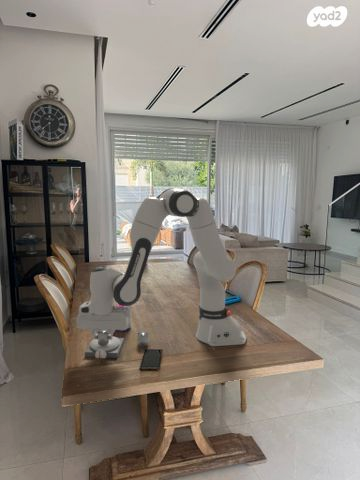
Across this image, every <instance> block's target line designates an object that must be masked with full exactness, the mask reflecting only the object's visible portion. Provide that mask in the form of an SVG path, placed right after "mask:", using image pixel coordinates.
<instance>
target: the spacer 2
mask: <svg viewBox="0 0 360 480" xmlns="http://www.w3.org/2000/svg"><path fill="white" fill-rule="evenodd" d="M137 346H138V347H140V348H146V347H148V346H149V333H148V331H145V330H144V331H143V330H142V331H139V332H138V333H137Z"/></svg>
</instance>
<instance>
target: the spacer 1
mask: <svg viewBox="0 0 360 480" xmlns="http://www.w3.org/2000/svg"><path fill="white" fill-rule="evenodd" d="M97 334H98V345H101V346H104V345H107V344H109V340H108V335H109V334H110V330H100V329H98V330H97Z"/></svg>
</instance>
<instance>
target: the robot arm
mask: <svg viewBox="0 0 360 480" xmlns="http://www.w3.org/2000/svg"><path fill="white" fill-rule="evenodd" d="M169 215H171V216H173V217H179V218H186V220H187V222H188V226H189V229H190V233H191V237H192V240H193V244H194V246H195V247H196V249H198V251H197V252H196V253H195V254H194V256H193V259H192V262H193V266H194V267H195V271H196V274H197V278H198V284H199V292H200V293H199V294H200V295H199V296H200V297H199V298H200V299H199V306H198V327H197V330H196V334H195V338H196V339H197V340H198V341H200V342H201V343H205V344H207V345H208V346H210V347H223V346H237V345H245V343H246V342H247V336H246V333H245V332H244V331H243V330H242V329H241V325H240V323H239V322H238V320H237V319H235V318H234V317H232V312H231V310H230V309H229V308H228V306H226V289H225V287H224V285H223V282H229V281H231V280H233V279H234V277H235V275H236V273H237V265H236V263H235V261H234V260H233V259H232V257H230V255H229V254H228V252H227V251H228V250H227V249H226V248H225V245H224V244H223V242H222V239H221V238H220V235H219V234H220V233H219V230H218V227H217V223H216V219H215V216H214V215H215V214H214V213H213V210H212V208H211V205H210V203H209V202H208V200H207V199H205V198H204V197H196V196H195V195H194V194H193V193H191V191H189V190H188V189H183V188H179V187H174V188H167V189H165V190H164V191H162V192H161V193H160V194H159V195H158V196H156V197H155V196H148V197H145V198H144V199H143V201H142V202H141V204H140V206H139V208H138V209H137V211H136V212H135V216H134V218H133V221H132V224H131V227H130V228H131V229H130V234H129V239H130V245H131V252H130V253H131V255H130V258H129V260H128V264H127V266H126V271H121V270H119V269H116V268H113V267H112V266H110V265H108V264H107V265H106V264H104V265H103V264H102V265H100V266H99V265H98V266H97V267H95V268H93V270H91V272H90V277H89V279H90V280H89V290H90V293H91V296H90V300H89V301H85V302H83V303H82V304H80V306H79V308H78V314H77V315H76V327H77V329H79V330H90V333H91V334H92V336H93V338H94V339H98V332H96V330H109V331H110V333H109V335H108V340H112V338H113V335H114V333H115V332H116V331H118V330H126V329H127V327H128V309H127V308H125V307H118V306H116V305H115V304H114V301H115V302H116V304H117V305H122V306H130V307H131V306H132V305H135V304H136V303H137V302H138V301H139V300H140V298H141V296H142V295H141V294H142V290H141V289H142V288H141V283H142V282H141V281H142V278H143V274H144V272H145V269H146V265H147V263H148V260H149V257H150V253H151V251H152V249H153V246H154V244H155V243H156V240H157V237H158V235H159V233H160V231H161V227H162V225H163V222H164V220H165V219H166V217H168V216H169ZM126 331H127V330H126Z"/></svg>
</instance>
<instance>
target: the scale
mask: <svg viewBox="0 0 360 480" xmlns="http://www.w3.org/2000/svg"><path fill="white" fill-rule="evenodd" d="M124 343H125V338H124V337H117V336H113V338H112V340H109V344H107V345H104V346H101V345H98V339H94V337H93V338H92V339H91V341H90V343H89V345H88V346H87V348H86V349H85V351H84V357H85V358H96V359H106V358H116V359H117V358H118V357H119V355H120V352H121V351H122V348H123V346H124Z"/></svg>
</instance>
